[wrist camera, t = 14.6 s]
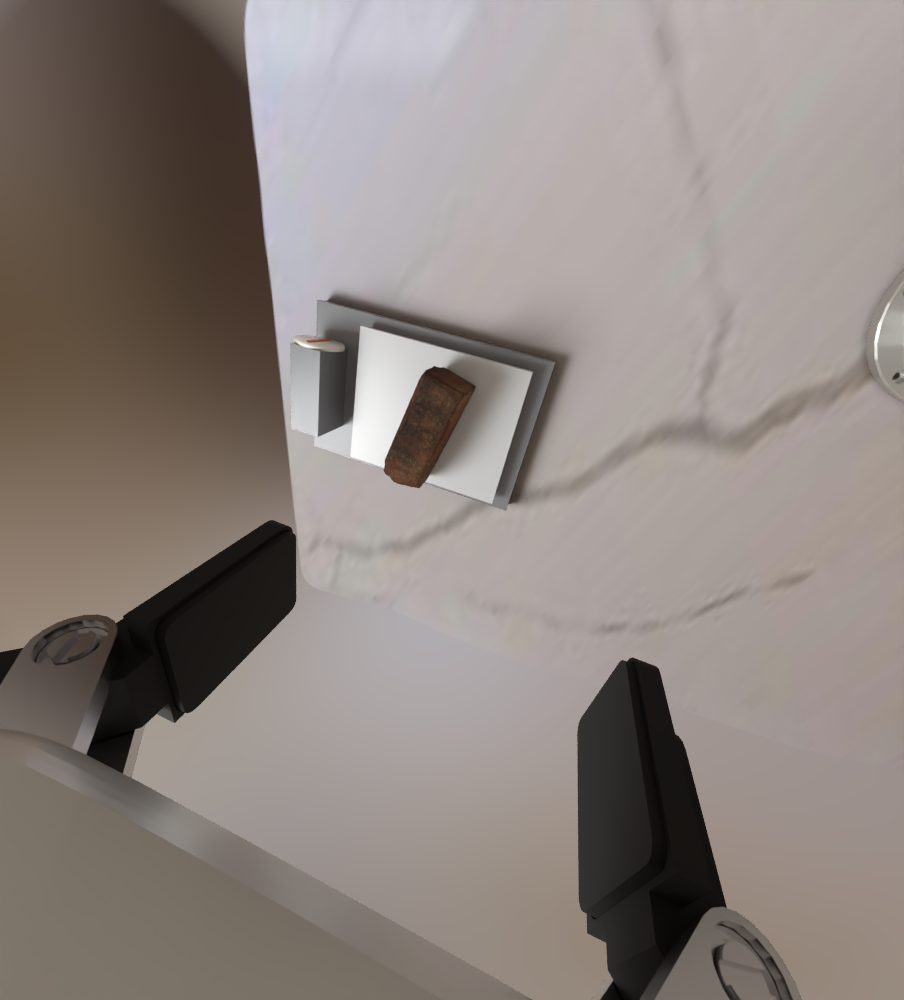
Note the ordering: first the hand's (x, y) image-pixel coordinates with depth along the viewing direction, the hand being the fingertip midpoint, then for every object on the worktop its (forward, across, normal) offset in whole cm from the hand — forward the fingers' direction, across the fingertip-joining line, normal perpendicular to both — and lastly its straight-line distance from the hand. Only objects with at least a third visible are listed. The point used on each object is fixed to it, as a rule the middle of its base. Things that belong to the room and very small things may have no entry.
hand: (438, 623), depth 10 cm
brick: (+26, +8, +3) cm, 27 cm away
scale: (+28, +11, +3) cm, 31 cm away
